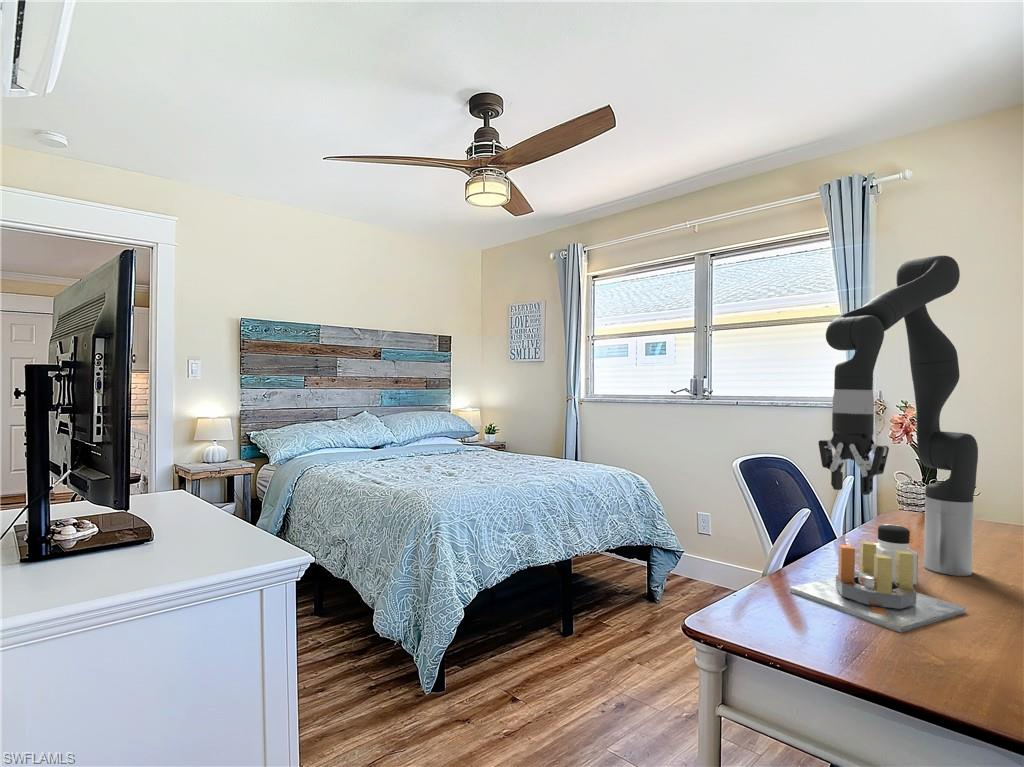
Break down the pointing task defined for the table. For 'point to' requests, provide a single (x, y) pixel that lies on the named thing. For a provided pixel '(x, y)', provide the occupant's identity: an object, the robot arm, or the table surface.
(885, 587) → the octagonal frame
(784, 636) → the table surface
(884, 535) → the medicine bottle
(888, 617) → the base plate
